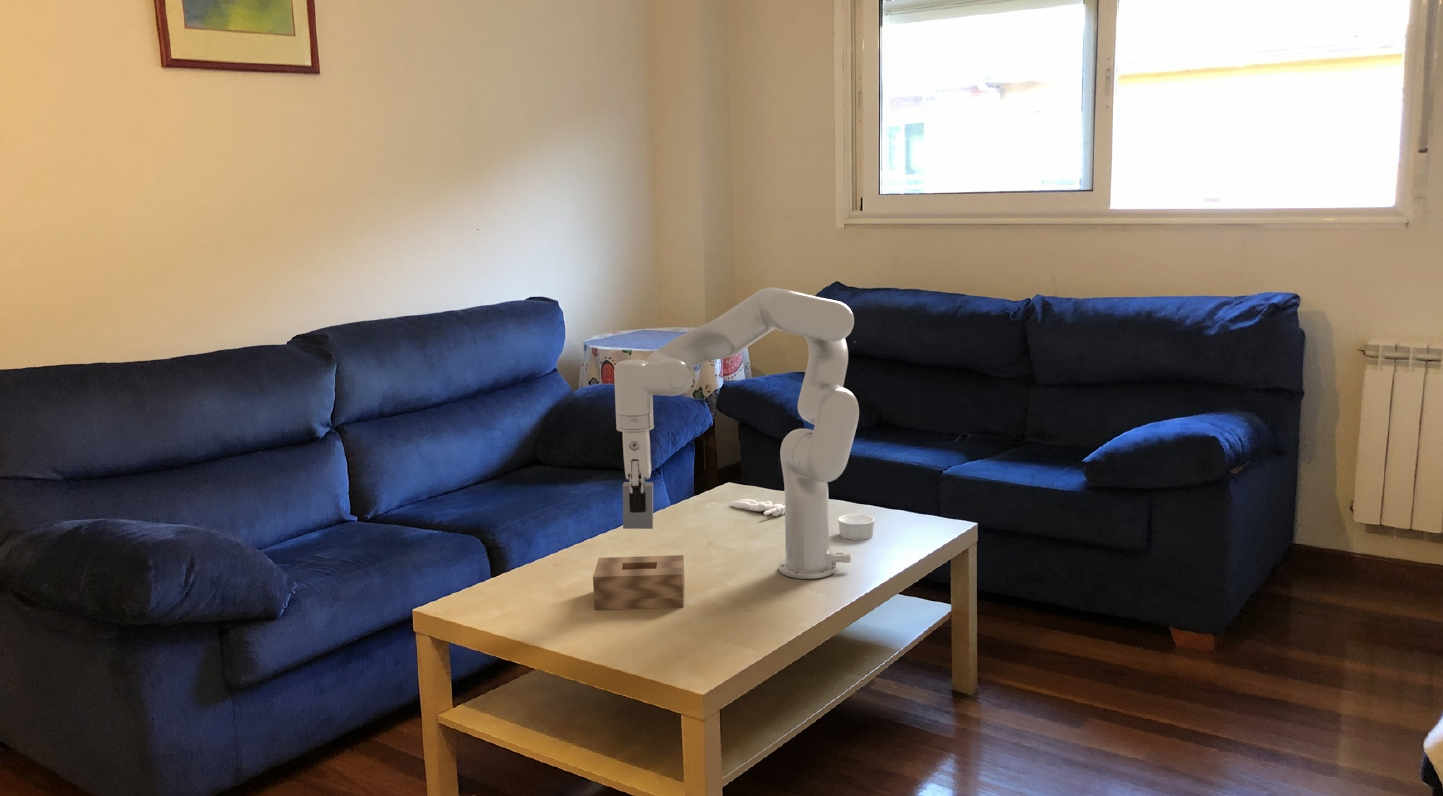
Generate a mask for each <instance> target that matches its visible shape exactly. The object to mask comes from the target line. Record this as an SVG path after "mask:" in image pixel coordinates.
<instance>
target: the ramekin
mask: <svg viewBox="0 0 1443 796" xmlns="http://www.w3.org/2000/svg"><path fill="white" fill-rule="evenodd" d="M875 520H876V519H875V518H874V516H871V515H867V514H862V513H848V514H844V515H840V516H839V517H838V518H837V522H838V526H839V535H841V536H842V537H841V536H840V537H841V538H843V537H844V538H843V539H845V538H846V540H849V539H851V540H850V541H863V540H864V539H865V540H868V538H869V539H870V537H871V538H872V537H873V535H874V526H875V522H876V521H875Z"/></svg>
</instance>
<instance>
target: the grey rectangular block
mask: <svg viewBox="0 0 1443 796" xmlns="http://www.w3.org/2000/svg"><path fill="white" fill-rule="evenodd" d="M639 483H640V484H641V482H639ZM643 484H644V493H645V503H646V511H645V512H638V513H631V512H630V502H629V493H630V481H624V482H623V483H622V529H623V530H624V529H625V530H626V529H627V530H629V529H630V530H634V529H635V530H637V529H638V530H639V529H640V530H647V529H648V530H651V529H652V530H653V529H654V482H653V481H651V482H649V481H645V482H643Z"/></svg>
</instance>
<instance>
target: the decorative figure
mask: <svg viewBox="0 0 1443 796" xmlns="http://www.w3.org/2000/svg"><path fill="white" fill-rule="evenodd" d="M730 506H731V507H733V508H736V509H739V510H740V509H741V510H742V509H747V510H749V511H752V512H763V511H764V512H763V515H764V516H767V515H770V514H772V516H773V517H774V516H777V517H779V516H782V514H783V515H784V514H785V504H784V505H783V504H782V503H775V504H773V502H772V501H770V500H766V501H758V500H757V501H756V500H755V499H750V498H741V499H738V500H736V501H735V500H734V501H731V502H730Z"/></svg>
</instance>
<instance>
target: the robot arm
mask: <svg viewBox="0 0 1443 796" xmlns="http://www.w3.org/2000/svg"><path fill="white" fill-rule="evenodd" d="M854 324H855V316H854V313H853V312H852V310H851V308H850V307H849V306H848V305H847V304H846V303H844V302H842V301H838V300H833V299H830V298H829V299H828V298H824V297H820V296H814V295H811V294H806V293H802V292H799V291H795V290H790V289H785V288H778V287H765V288H762V289H760V290H757V292H755V293H753V294H751V295H750V296H749V297H747V298H745V299H744V300H743V301H741V302H740V303H738V304H737V305H735V306H734V307H732V308H731V309H728V310H727V311H726V312H724V313H723V314H721V315H720V316H719V317H717V318H716V319H713V320H712V321H710V322H707V323H705V324H702V325H701V326H699V327H697V328H694V329H691V330H690V331H688V332H685V333H684V334H683V333H682V334H681V335H679V336H678V337H675V338H674V339H672V340H671V341H669V342H667V343H666V344H664V345H663V346H662V347H660V348H659V349H657V350H655V351H654V352H653V353H651V354H650V355H648V357H647V358H646V359H645V360H643V359H626V360H621V361H619V362H617V363H616V364H615V365H614V367H613V368H614V369H613V373H614V376H613V379H614V396H615V397H614V398H615V399H614V400H615V401H614V402H615V420H616V422H615V424H616V425H615V426H616V431H617V432H622V449H623V451H622V452H623V464H624V474H625V475H624V476H625V479H626V480H628V482H630V493H629V502H630V512H631V513H638V512H645V511H646V503H645V493H644V484H643V482H646V481H645V480H649V479H650V478H651V473H652V459H651V458H652V457H651V456H652V455H651V454H652V453H651V440H650V438H651V437H650V431H651V430H654V427H655V424H654V421H655V420H654V401H653V400H654V398H653V396H669V397H675V396H680V395H682V394H684V393H686V392H688V390H689V389H690V388H691V386H692V384H693V382H694V374H693V370H692V369H693V368H695V367H697V366H699V365H701V364H702V365H703V364H704V363H707V362H711V361H715V360H723V359H728V358H731V357H734V356H736V355H739V354H740V353H741V352H743V351H744V350H746V349H747V348H749V347H750V346H752V345H753V344H755V343H756V342H758V340H761V339H762V338H763V337H765V336H767V335H768V334H769V333H771V332H773V331H774V330H776V331H780V332H783V333H789V334H792V335H796V336H802V337H804V339H805V341H806V344H807V347H808V359H807V365H806V369H805V374H804V378H803V381H802V385H801V389H800V393H799V396H798V400H797V401H798V402H797V412H798V414H799V416H800V417H801V419H803V420H804V421H806V422H808V423H809V424H811V425H814V427H813V429H809V428H797V429H793V430H792V431H790V432H789V433H788V434H786V436H785V437H783V439H782V442H781V444H780V445H781V446H780V448H779V449H780V450H779V453H780V455H779V456H780V463H781V469H782V476H783V484H784V487H783V488H784V505H785V510H784V523H785V524H784V525H785V527H784V528H785V533H784V534H785V559H784V560H782V561H781V562H779V564H778V570H779V572H780V573H781V574H782V575H784V576H787V577H790V578H794V579H798V580H799V579H801V580H813V579H814V580H815V579H821V578H826V577H829V576H831V575H833V574H834V573H836V571H837V563H842V564H845V563H851V554H850V553H844V551H833V550H831V548H830V543H829V542H830V535H829V534H830V533H829V531H830V530H829V529H830V528H829V527H830V525H829V524H830V523H829V502H830V501H829V485H828V483H830V482H833V481H835V480H837V479H838V478H839V477H840V476H841V475H842V474H843V472H844V470H846V467H847V464H848V461H849V458H850V454H851V449H852V448H853V447H852V446H853V442H854V438H855V435H856V430H857V427H858V423H859V417H860V408H859V402H858V400H857V398H856V396H855V395H854V393H853V392H852V391H851V390H849V389H847V388H846V387H844V385H845V380H846V379H845V378H846V374H847V369H848V364H849V349H848V345H847V341H846V338H847V337H848V336H849V335H850V334H851V333H852V330H853V328H854V326H855V325H854ZM639 482H641V484H640V483H639Z"/></svg>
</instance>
